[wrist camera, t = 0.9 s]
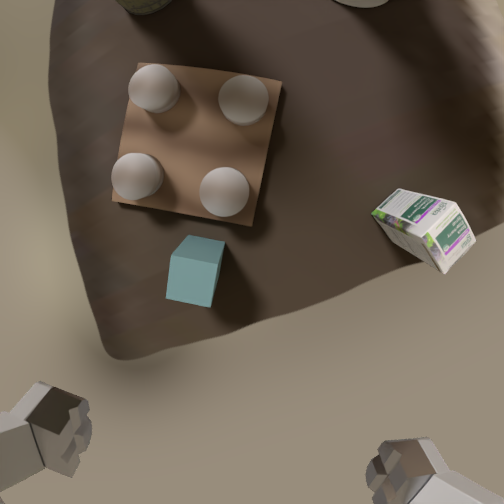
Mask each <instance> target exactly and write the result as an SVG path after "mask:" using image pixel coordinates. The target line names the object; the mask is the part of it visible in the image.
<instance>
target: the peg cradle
mask: <svg viewBox="0 0 504 504" xmlns="http://www.w3.org/2000/svg"><path fill="white" fill-rule="evenodd" d="M281 85H282V81H277V80H272V79H267V78H262V77H257V76H251V75H246V74H240V73H234V72H227V71H221V70H214V69H206V68H198V67H189V66H178V65H167V64H152V63H138V66H137V70H136V73H135V74H134V75H133V77H132V78H131V80H130V83H129V88H128V91H129V96H130V98H129V103H128V107H127V112H126V117H125V122H124V127H123V132H122V137H121V142H120V148H119V154H118V160H117V162H116V163H115V165H114V167H113V170H112V176H111V179H112V184H113V195H112V201H116V202H121V203H127V204H133V205H139V206H144V207H150V208H155V209H161V210H166V211H172V212H177V213H183V214H188V215H194V216H199V217H204V218H210V219H215V220H220V221H225V222H230V223H236V224H241V225H246V226H251V227H252V224H253V219H254V214H255V209H256V204H257V199H258V194H259V190H260V185H261V180H262V175H263V170H264V166H265V161H266V156H267V151H268V146H269V142H270V137H271V132H272V127H273V123H274V118H275V113H276V108H277V104H278V99H279V94H280V89H281Z"/></svg>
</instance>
